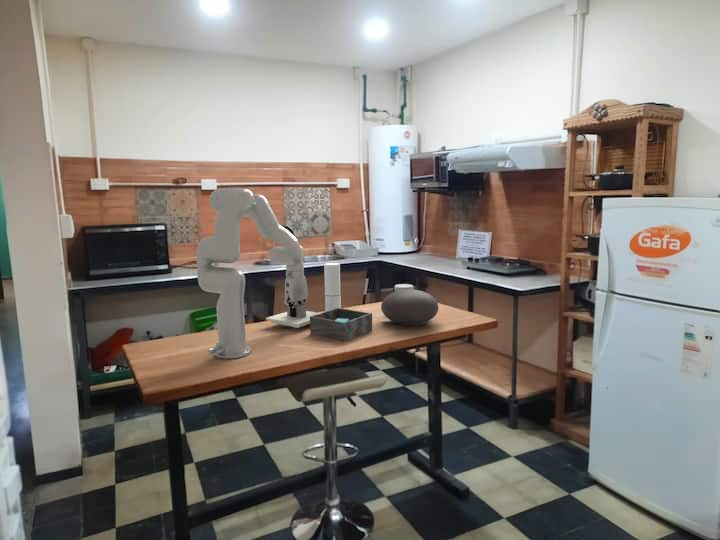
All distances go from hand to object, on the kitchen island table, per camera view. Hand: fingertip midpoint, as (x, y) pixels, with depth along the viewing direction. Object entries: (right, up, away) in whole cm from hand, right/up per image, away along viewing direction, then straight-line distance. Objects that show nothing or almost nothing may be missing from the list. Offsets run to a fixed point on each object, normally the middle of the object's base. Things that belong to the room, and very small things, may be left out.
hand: (296, 315), depth 212 cm
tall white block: (+15, -2, +14) cm, 21 cm away
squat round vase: (+49, -4, +2) cm, 49 cm away
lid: (0, -3, 0) cm, 3 cm away
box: (+20, -7, -12) cm, 25 cm away
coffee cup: (+49, 0, +26) cm, 56 cm away
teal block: (+20, -6, -13) cm, 24 cm away
